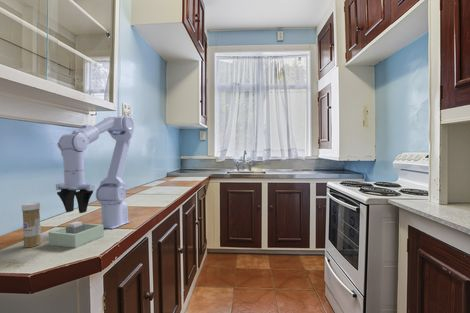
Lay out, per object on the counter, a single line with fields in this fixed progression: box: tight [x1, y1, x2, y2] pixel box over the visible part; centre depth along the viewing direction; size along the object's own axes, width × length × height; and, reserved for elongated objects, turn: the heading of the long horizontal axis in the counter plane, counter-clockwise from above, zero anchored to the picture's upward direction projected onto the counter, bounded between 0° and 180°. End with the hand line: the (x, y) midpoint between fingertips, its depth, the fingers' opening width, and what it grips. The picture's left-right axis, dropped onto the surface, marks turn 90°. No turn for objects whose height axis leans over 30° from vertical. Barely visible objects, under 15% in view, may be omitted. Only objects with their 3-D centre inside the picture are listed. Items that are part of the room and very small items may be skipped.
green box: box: [48, 222, 105, 249], centre depth 88 cm, size 11×11×4 cm
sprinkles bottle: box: [21, 201, 42, 248], centre depth 85 cm, size 5×5×14 cm
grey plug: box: [65, 221, 85, 234], centre depth 87 cm, size 4×4×6 cm
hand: (76, 212), depth 88 cm, fingers open, 5 cm apart
